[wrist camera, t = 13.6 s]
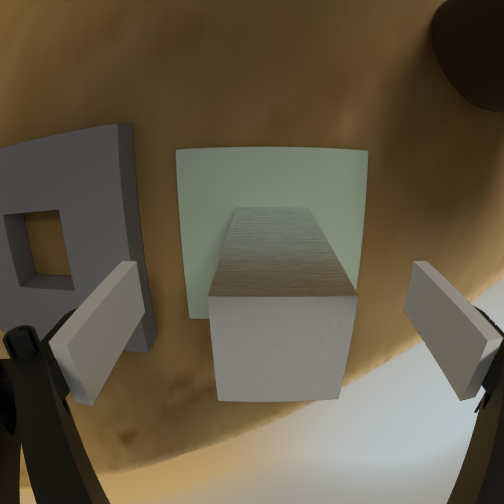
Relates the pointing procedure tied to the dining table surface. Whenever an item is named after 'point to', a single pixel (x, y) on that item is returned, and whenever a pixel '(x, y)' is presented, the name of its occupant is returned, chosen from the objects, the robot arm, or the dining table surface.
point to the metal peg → (279, 309)
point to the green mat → (265, 201)
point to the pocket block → (71, 224)
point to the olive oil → (473, 49)
